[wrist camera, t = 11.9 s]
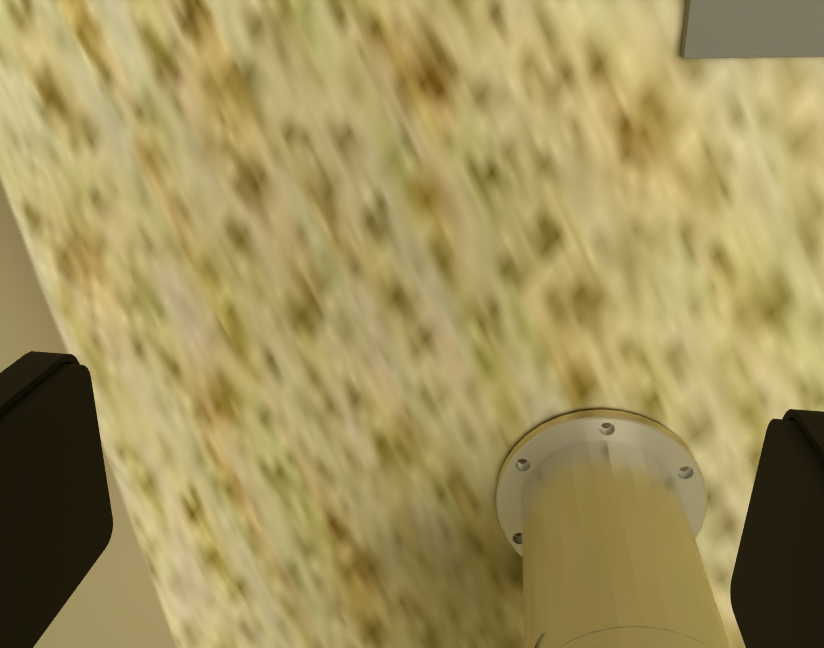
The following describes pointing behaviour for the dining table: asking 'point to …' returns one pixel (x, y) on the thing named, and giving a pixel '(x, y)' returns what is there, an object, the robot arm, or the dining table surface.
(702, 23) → the mat
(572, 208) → the dining table surface
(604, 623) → the robot arm
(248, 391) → the dining table surface
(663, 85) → the dining table surface
